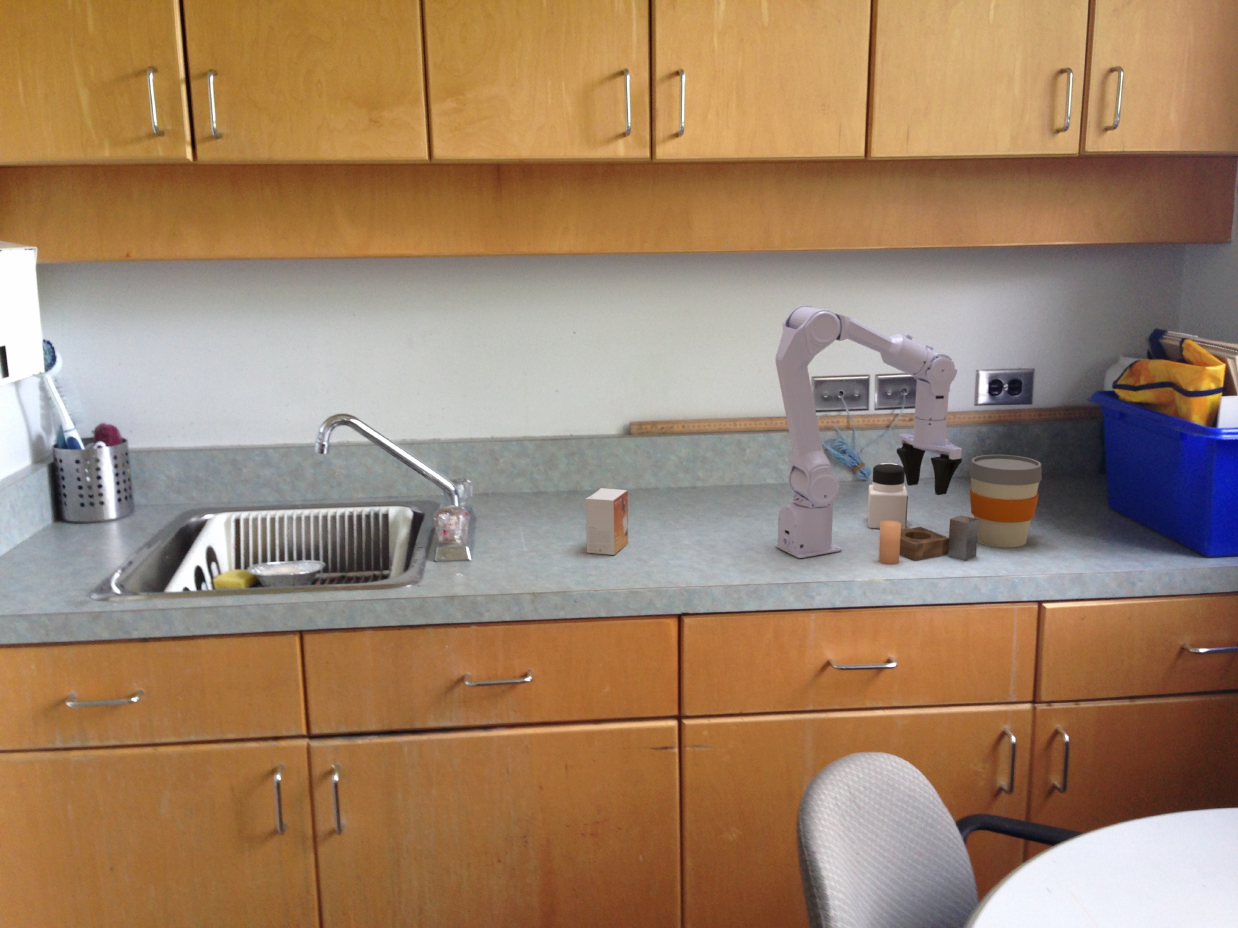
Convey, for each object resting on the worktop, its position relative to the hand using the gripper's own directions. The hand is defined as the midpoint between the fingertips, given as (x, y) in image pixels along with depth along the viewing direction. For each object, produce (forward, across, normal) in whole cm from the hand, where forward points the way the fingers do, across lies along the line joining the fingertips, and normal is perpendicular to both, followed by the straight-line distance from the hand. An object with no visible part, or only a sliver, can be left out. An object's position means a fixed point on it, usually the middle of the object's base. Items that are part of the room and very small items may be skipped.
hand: (926, 489), depth 193 cm
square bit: (+10, -11, +1) cm, 15 cm away
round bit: (+10, -7, +14) cm, 18 cm away
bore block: (+10, -5, +6) cm, 13 cm away
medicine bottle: (+10, +11, 0) cm, 15 cm away
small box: (+10, +24, +55) cm, 60 cm away
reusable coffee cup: (+10, -7, -12) cm, 17 cm away
